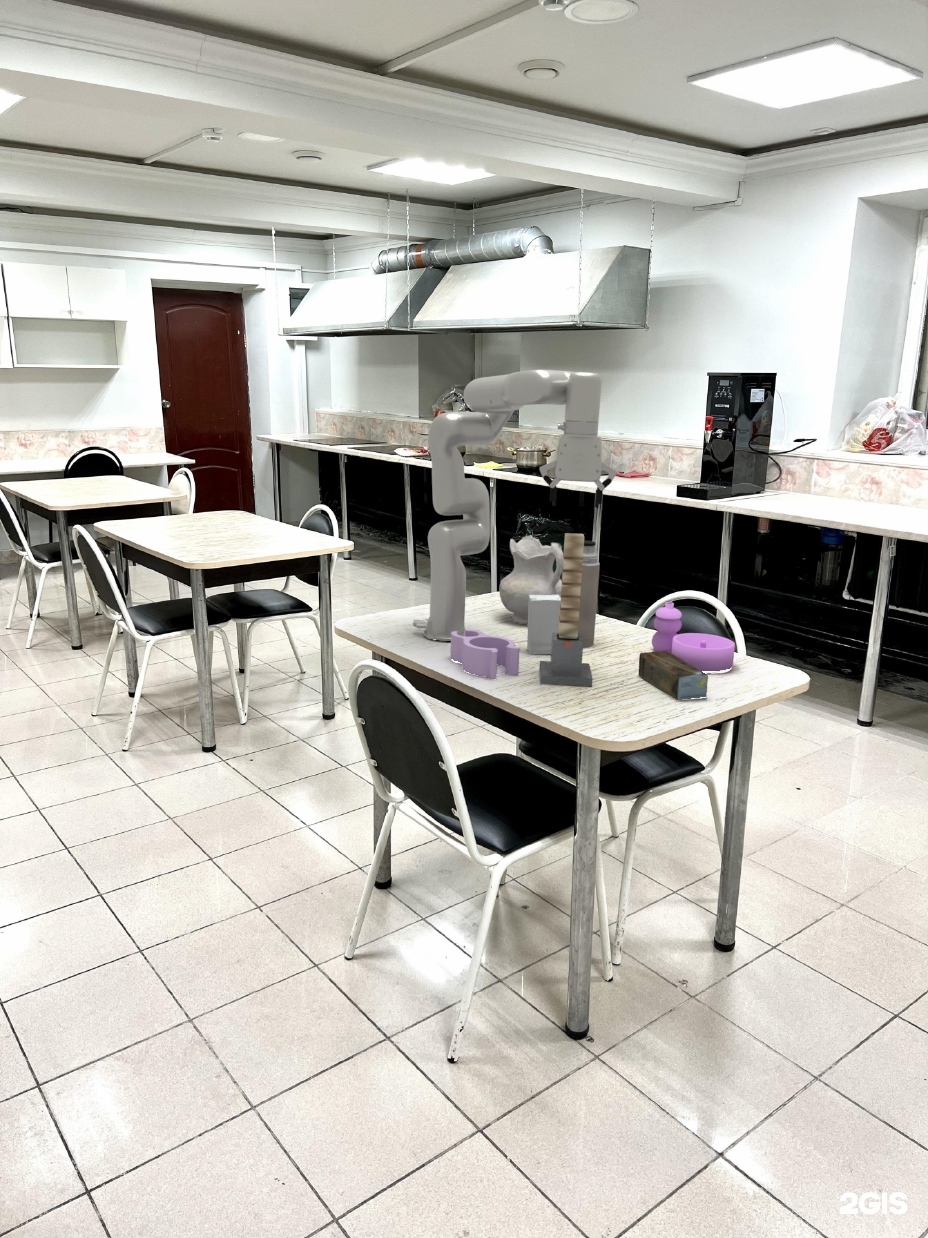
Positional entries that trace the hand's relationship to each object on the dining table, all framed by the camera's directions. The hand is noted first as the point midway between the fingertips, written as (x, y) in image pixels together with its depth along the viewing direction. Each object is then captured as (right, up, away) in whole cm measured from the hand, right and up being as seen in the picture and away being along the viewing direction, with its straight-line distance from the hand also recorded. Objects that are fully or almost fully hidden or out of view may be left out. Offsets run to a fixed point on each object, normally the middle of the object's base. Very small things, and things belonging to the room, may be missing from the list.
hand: (575, 506), depth 207 cm
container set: (+33, -36, +29) cm, 57 cm away
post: (-1, -30, +7) cm, 31 cm away
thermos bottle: (+6, -32, +40) cm, 51 cm away
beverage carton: (+23, -42, +6) cm, 48 cm away
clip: (-21, -38, +16) cm, 46 cm away
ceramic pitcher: (-5, -26, +61) cm, 67 cm away
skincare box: (-5, -34, +30) cm, 46 cm away
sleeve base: (-1, -40, +10) cm, 41 cm away
